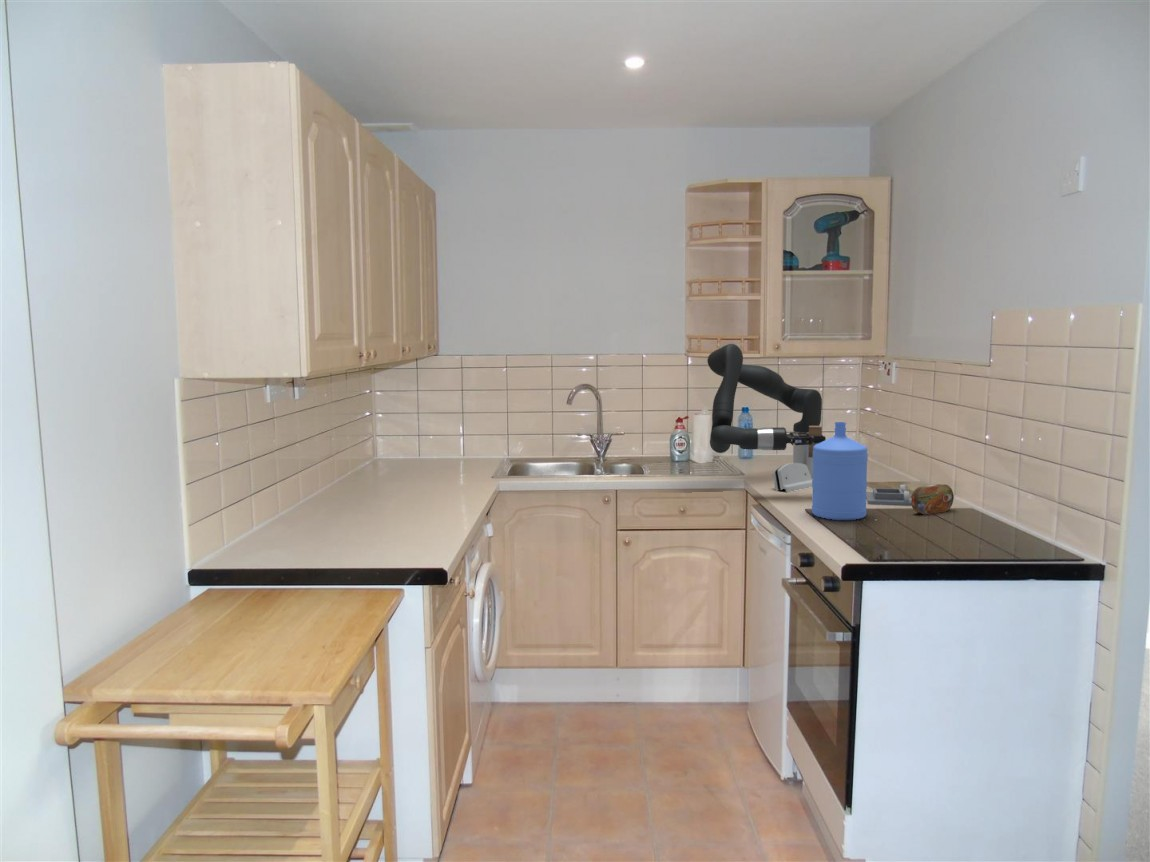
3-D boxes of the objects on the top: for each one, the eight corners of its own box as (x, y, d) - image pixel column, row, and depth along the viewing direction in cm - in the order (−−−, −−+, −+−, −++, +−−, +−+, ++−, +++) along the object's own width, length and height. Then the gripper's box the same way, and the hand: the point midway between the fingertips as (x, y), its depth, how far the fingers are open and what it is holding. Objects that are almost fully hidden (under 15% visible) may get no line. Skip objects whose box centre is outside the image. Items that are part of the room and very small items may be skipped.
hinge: (786, 492, 277) (779, 464, 278) (776, 495, 280) (769, 467, 282) (817, 486, 287) (809, 459, 288) (806, 489, 290) (799, 462, 292)
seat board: (865, 494, 270) (865, 483, 270) (906, 496, 267) (907, 484, 266) (868, 504, 256) (868, 491, 256) (912, 505, 253) (912, 493, 252)
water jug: (854, 523, 231) (856, 427, 228) (802, 516, 241) (804, 423, 238) (874, 513, 243) (876, 421, 240) (824, 507, 253) (825, 418, 250)
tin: (917, 516, 239) (917, 488, 238) (908, 514, 242) (909, 486, 241) (954, 510, 245) (955, 483, 244) (945, 508, 248) (946, 481, 247)
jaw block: (808, 455, 269) (809, 425, 268) (821, 455, 268) (821, 425, 266) (808, 457, 265) (808, 427, 264) (821, 457, 264) (821, 427, 263)
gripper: (773, 430, 260) (828, 429, 258) (768, 425, 274) (820, 424, 272) (773, 453, 261) (827, 453, 259) (768, 446, 275) (819, 446, 273)
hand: (823, 438), depth 265 cm, fingers closed on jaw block, 4 cm apart
